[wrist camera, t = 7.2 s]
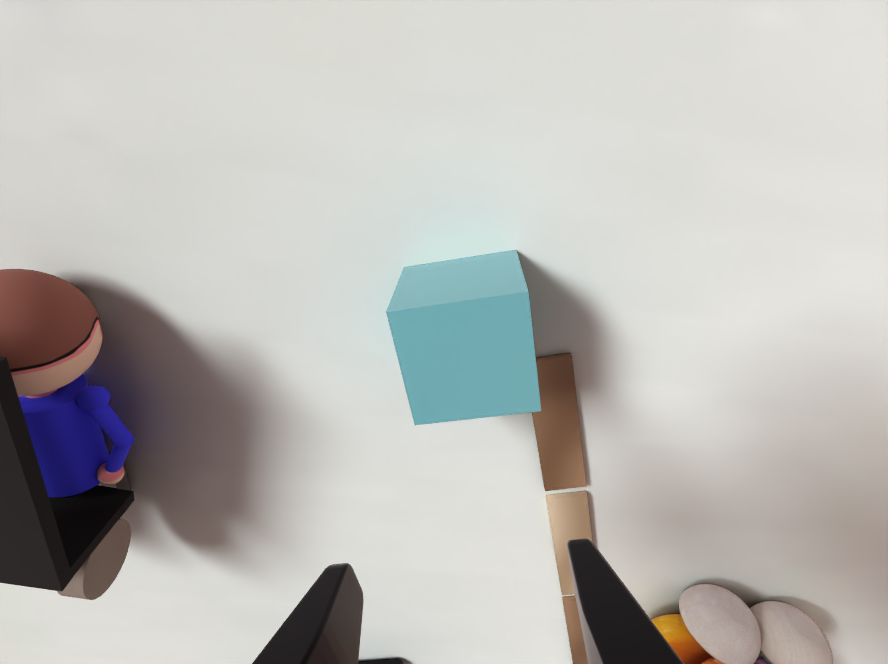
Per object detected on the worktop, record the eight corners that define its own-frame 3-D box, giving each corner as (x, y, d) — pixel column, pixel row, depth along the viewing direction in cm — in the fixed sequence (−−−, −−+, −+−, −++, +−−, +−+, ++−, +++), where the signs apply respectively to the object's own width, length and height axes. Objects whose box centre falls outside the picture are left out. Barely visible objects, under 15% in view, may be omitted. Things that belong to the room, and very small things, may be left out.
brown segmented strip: (574, 670, 30) (575, 676, 30) (523, 360, 20) (524, 363, 20) (606, 668, 30) (607, 673, 30) (570, 352, 20) (571, 356, 20)
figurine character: (183, 499, 28) (139, 266, 19) (91, 642, 21) (-35, 385, 13) (66, 478, 27) (-30, 233, 19) (-64, 616, 21) (-292, 338, 13)
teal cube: (425, 362, 21) (414, 425, 17) (404, 266, 19) (386, 311, 15) (527, 349, 20) (541, 410, 16) (516, 249, 18) (528, 291, 14)
